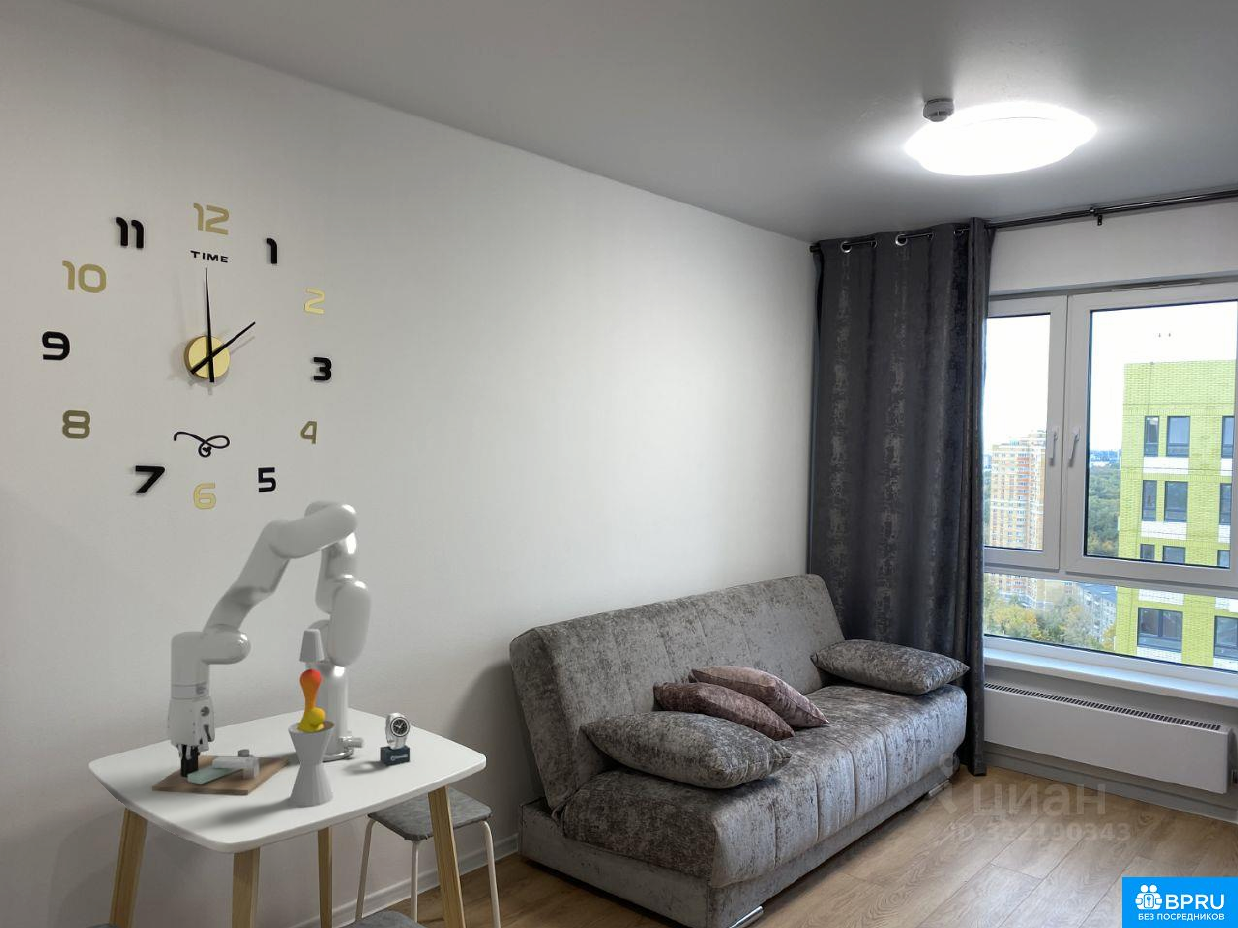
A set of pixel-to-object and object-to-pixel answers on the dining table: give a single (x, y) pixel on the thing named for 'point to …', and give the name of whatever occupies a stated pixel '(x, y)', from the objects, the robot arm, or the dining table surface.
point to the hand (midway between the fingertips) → (189, 775)
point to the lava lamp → (311, 732)
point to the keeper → (239, 765)
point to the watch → (396, 740)
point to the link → (209, 774)
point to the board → (223, 777)
